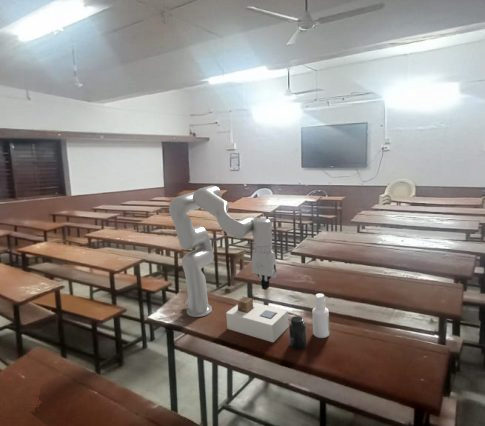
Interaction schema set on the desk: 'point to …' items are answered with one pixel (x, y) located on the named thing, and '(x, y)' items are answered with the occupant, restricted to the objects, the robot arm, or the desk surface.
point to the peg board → (258, 322)
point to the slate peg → (268, 314)
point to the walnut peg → (245, 304)
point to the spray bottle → (320, 317)
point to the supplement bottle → (297, 333)
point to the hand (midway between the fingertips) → (265, 288)
